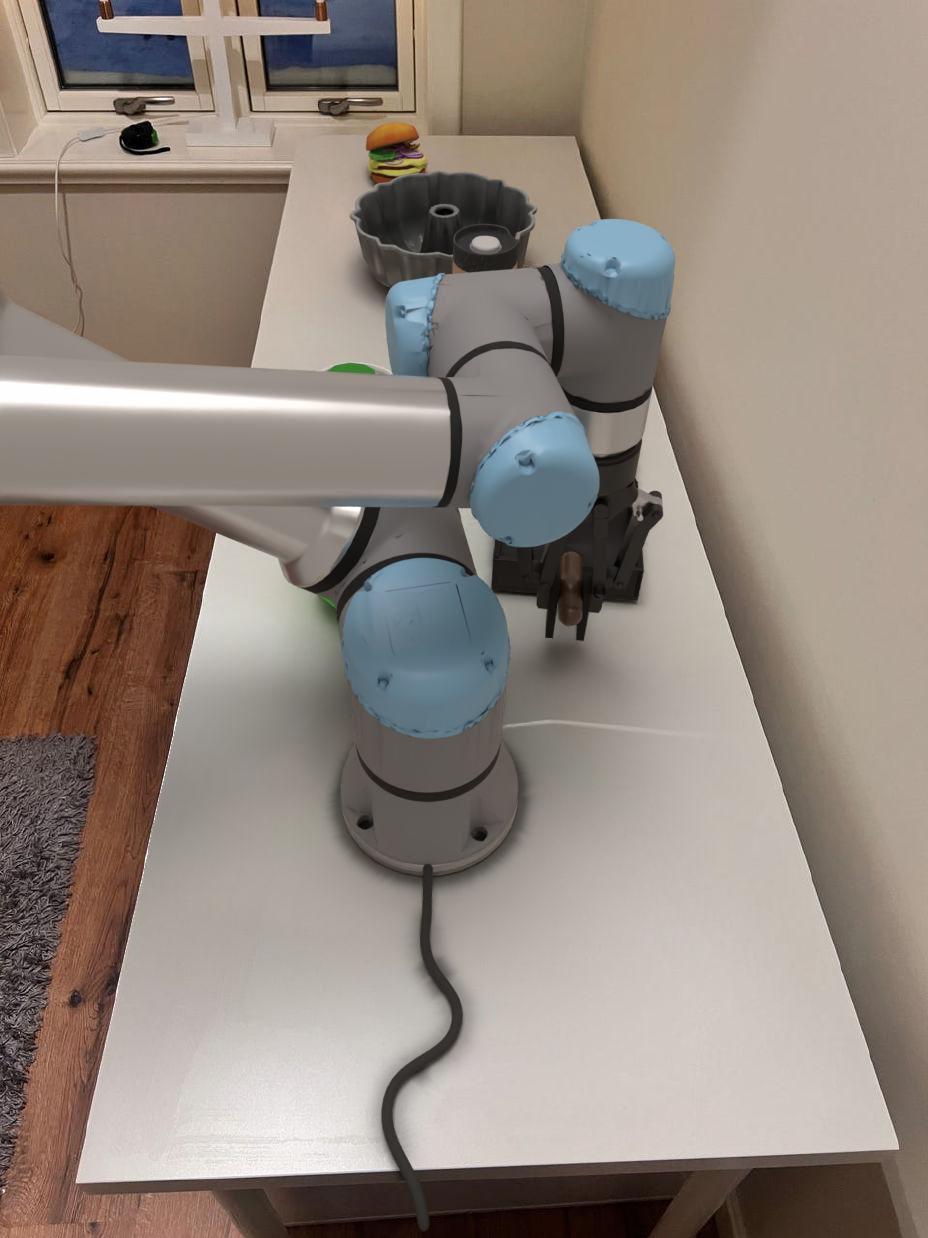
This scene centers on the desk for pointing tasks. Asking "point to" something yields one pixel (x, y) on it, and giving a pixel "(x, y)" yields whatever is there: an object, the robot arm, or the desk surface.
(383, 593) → the robot arm
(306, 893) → the desk surface
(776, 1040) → the desk surface
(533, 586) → the pan
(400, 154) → the cheeseburger
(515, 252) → the travel mug
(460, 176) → the bundt pan
